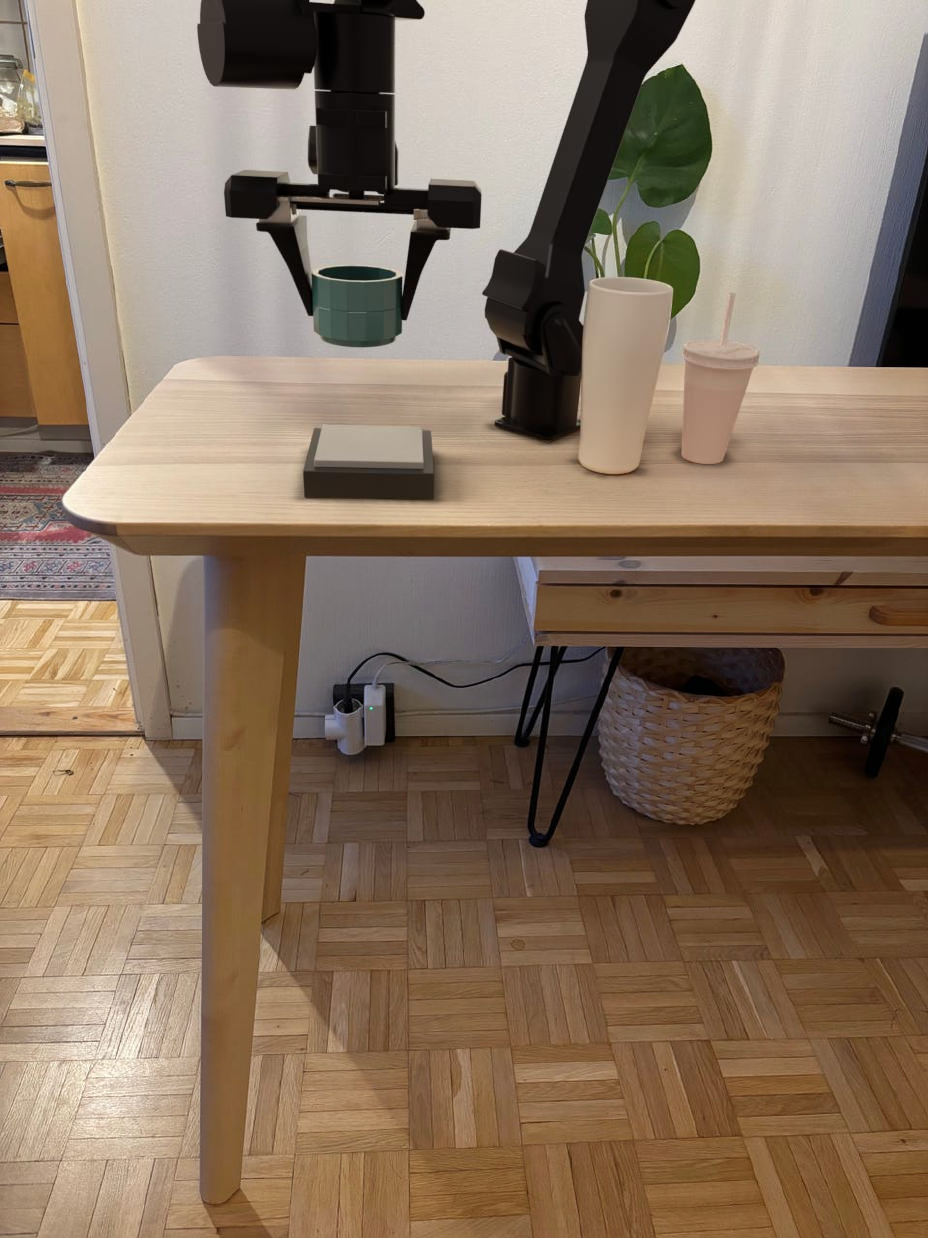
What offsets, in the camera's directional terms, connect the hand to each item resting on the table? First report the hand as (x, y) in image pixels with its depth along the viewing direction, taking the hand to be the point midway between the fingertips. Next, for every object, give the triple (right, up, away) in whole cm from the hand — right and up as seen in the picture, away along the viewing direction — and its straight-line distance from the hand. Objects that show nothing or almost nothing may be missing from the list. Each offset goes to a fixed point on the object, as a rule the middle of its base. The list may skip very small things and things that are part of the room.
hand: (358, 317), depth 74 cm
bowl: (0, -1, +1) cm, 2 cm away
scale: (+1, -12, +2) cm, 12 cm away
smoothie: (+30, -10, +9) cm, 33 cm away
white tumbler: (+21, -11, +6) cm, 25 cm away
